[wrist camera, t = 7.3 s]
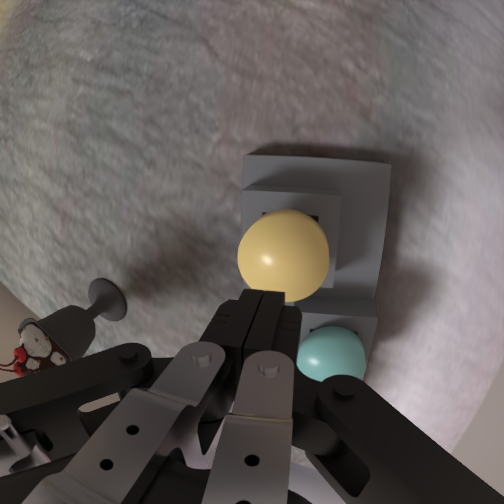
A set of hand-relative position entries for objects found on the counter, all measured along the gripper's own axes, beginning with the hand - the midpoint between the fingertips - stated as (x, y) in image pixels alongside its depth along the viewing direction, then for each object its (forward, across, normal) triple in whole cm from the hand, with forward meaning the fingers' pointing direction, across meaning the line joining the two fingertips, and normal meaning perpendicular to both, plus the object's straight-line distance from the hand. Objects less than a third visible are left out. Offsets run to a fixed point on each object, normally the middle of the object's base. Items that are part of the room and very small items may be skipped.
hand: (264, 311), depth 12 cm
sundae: (+13, +18, +9) cm, 24 cm away
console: (+12, -2, +8) cm, 15 cm away
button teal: (+10, -4, +8) cm, 14 cm away
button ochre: (+9, 0, 0) cm, 9 cm away
